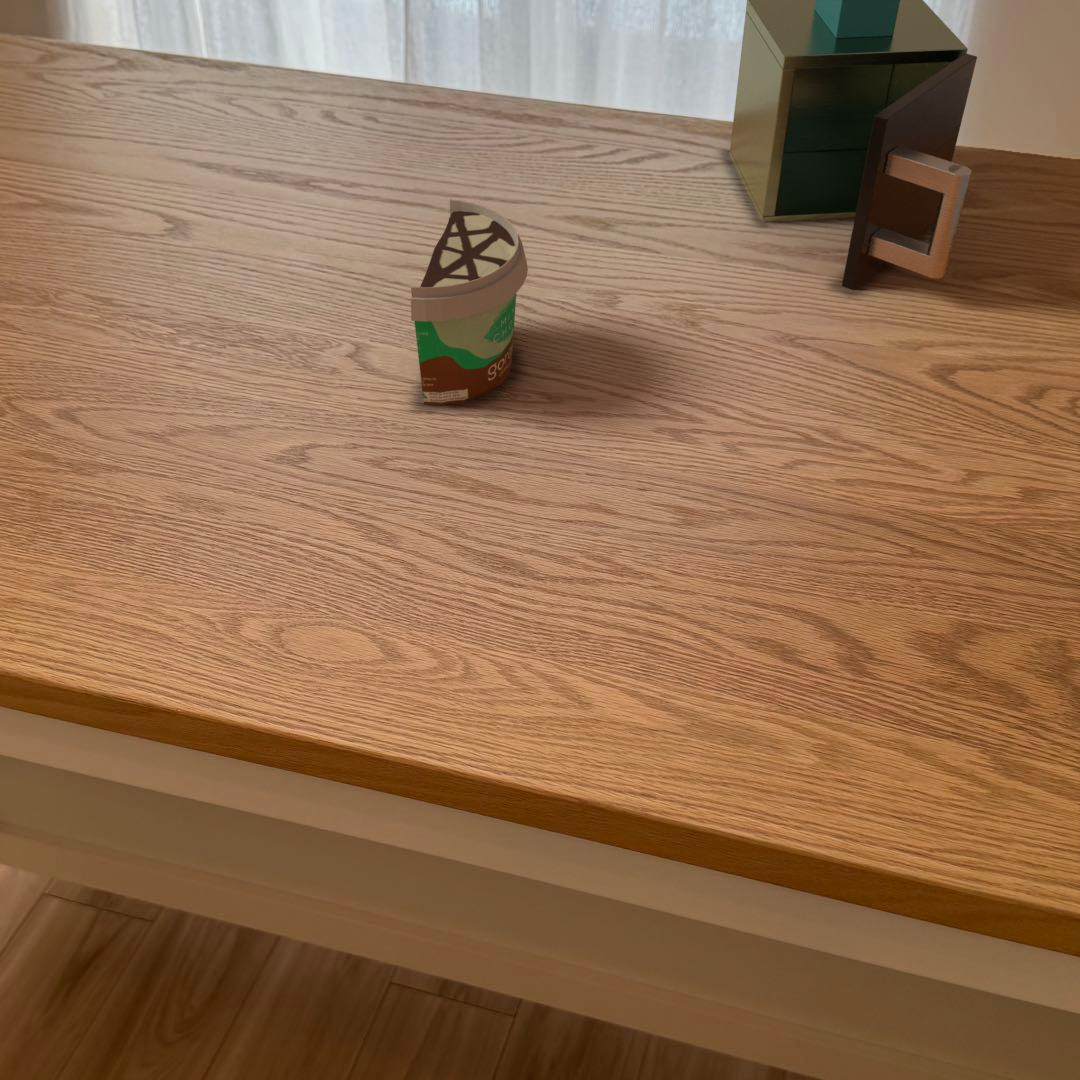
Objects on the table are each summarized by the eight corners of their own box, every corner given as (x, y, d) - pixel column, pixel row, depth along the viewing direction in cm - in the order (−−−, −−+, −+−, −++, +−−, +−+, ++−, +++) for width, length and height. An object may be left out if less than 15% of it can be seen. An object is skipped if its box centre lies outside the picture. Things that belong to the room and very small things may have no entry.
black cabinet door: (1004, 247, 98) (1053, 76, 89) (923, 322, 90) (967, 143, 81) (925, 220, 102) (965, 52, 92) (840, 290, 94) (874, 114, 84)
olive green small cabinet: (927, 219, 102) (968, 48, 92) (761, 228, 101) (784, 56, 91) (882, 153, 111) (915, -9, 101) (728, 160, 110) (747, -3, 100)
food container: (511, 433, 81) (509, 300, 74) (419, 423, 82) (408, 292, 75) (541, 329, 90) (541, 202, 83) (457, 321, 91) (451, 195, 84)
